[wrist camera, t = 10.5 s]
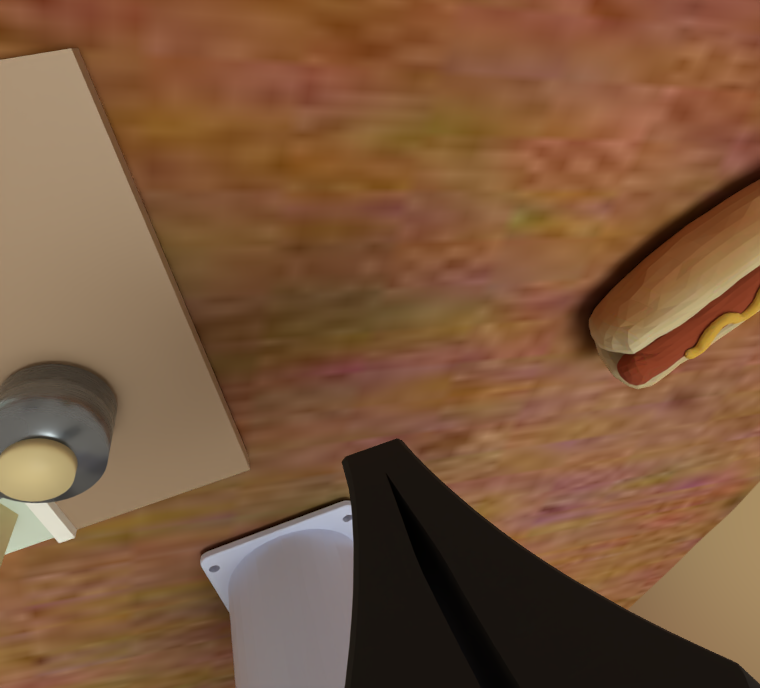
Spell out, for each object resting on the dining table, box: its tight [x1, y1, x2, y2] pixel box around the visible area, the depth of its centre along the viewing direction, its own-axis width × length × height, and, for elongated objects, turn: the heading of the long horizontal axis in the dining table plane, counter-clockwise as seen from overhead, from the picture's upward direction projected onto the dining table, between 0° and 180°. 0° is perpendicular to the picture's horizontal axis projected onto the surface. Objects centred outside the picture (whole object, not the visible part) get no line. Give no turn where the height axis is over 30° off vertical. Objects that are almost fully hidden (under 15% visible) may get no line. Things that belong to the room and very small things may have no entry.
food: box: [589, 179, 760, 389], centre depth 23 cm, size 14×6×5 cm, turn 123°
